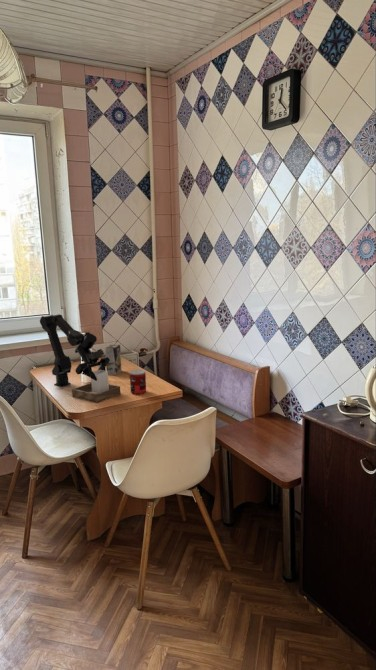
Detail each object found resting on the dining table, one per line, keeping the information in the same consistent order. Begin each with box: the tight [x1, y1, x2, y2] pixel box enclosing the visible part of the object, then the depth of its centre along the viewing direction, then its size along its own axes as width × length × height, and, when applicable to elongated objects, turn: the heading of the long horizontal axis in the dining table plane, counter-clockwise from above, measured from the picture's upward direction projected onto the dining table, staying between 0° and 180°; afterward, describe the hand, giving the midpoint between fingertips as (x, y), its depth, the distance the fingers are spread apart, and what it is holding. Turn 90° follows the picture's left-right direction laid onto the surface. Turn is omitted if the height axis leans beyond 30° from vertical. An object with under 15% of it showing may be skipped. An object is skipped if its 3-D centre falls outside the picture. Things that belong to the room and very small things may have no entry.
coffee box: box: [104, 344, 122, 376], centre depth 279 cm, size 9×6×16 cm
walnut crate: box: [71, 382, 121, 404], centre depth 240 cm, size 18×16×4 cm
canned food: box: [129, 369, 147, 395], centre depth 242 cm, size 8×8×11 cm
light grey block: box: [90, 369, 110, 393], centre depth 239 cm, size 6×6×10 cm
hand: (101, 378), depth 237 cm, fingers closed on light grey block, 6 cm apart
